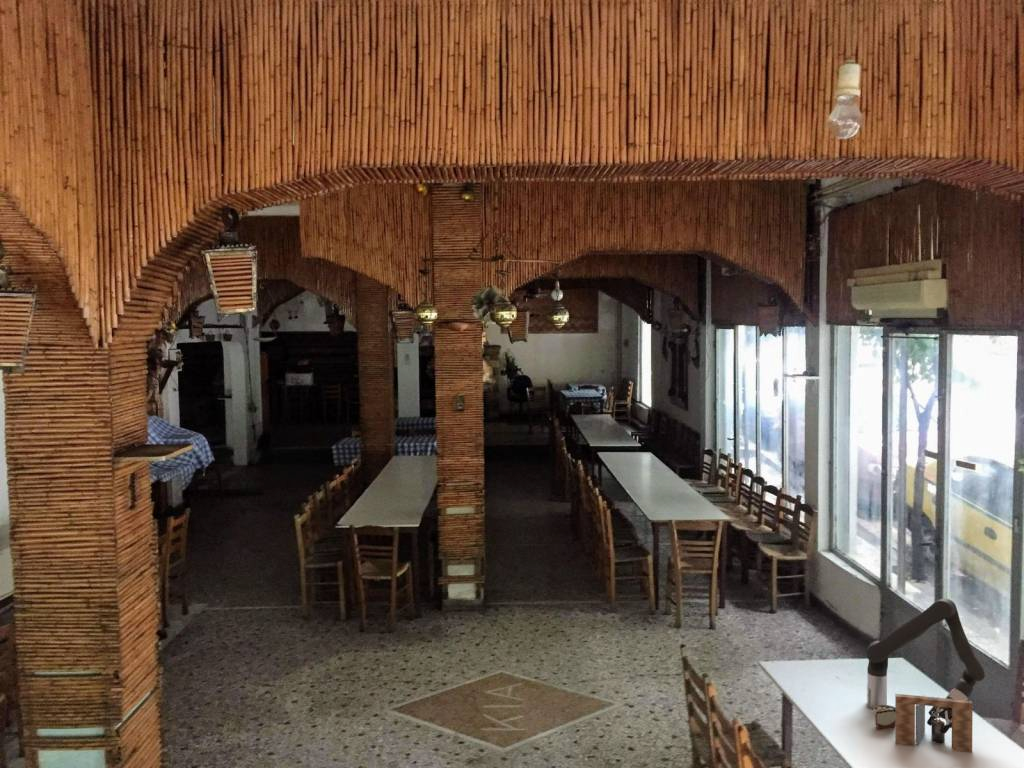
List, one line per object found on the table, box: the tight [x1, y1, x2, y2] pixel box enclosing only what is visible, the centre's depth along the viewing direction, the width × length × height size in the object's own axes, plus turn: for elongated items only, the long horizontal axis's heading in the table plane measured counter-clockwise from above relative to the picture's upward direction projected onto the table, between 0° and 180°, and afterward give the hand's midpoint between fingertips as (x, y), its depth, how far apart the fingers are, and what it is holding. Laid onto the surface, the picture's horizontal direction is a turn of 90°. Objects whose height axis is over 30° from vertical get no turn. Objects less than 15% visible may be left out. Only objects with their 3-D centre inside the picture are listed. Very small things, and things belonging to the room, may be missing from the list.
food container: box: [872, 704, 895, 732], centre depth 415 cm, size 12×6×10 cm, turn 102°
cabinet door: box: [915, 694, 926, 745], centre depth 402 cm, size 14×3×18 cm, turn 143°
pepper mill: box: [930, 718, 946, 745], centre depth 400 cm, size 6×6×11 cm
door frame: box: [894, 693, 974, 753], centre depth 394 cm, size 32×3×23 cm, turn 73°
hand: (935, 728), depth 399 cm, fingers open, 8 cm apart
